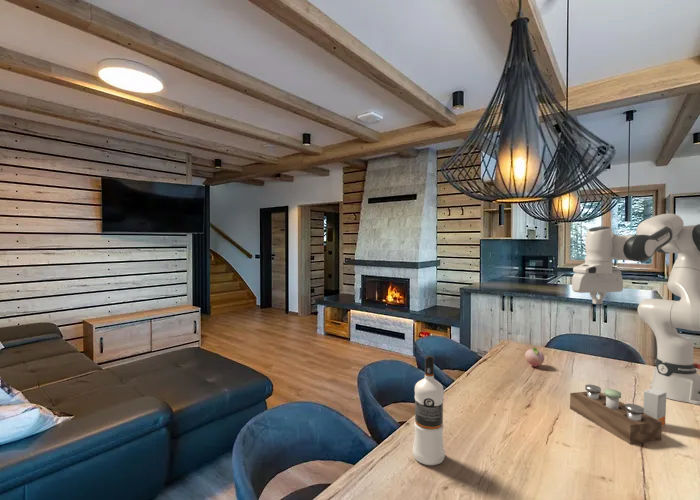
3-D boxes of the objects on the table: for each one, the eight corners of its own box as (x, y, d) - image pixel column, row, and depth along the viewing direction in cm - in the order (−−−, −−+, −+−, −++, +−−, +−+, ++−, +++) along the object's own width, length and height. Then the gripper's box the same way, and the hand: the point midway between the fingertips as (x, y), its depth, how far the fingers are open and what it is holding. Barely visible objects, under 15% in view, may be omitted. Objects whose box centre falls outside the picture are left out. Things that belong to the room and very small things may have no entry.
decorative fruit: (522, 363, 186) (522, 344, 186) (539, 364, 185) (539, 344, 185) (528, 369, 177) (528, 349, 177) (546, 370, 176) (546, 350, 176)
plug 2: (632, 430, 121) (633, 403, 121) (647, 437, 116) (647, 409, 116) (620, 431, 120) (621, 404, 120) (634, 439, 115) (635, 411, 115)
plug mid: (611, 413, 129) (612, 388, 129) (624, 420, 124) (624, 394, 124) (600, 415, 128) (600, 389, 128) (612, 421, 123) (612, 395, 123)
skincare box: (657, 430, 121) (658, 395, 121) (642, 424, 125) (643, 390, 125) (665, 426, 124) (667, 392, 124) (651, 420, 128) (652, 387, 127)
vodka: (446, 452, 109) (447, 353, 108) (442, 470, 100) (443, 363, 99) (415, 445, 112) (416, 349, 111) (409, 462, 104) (410, 359, 103)
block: (597, 405, 139) (597, 390, 139) (661, 440, 115) (661, 421, 115) (569, 408, 137) (570, 393, 137) (629, 444, 113) (630, 425, 113)
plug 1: (592, 408, 137) (593, 384, 136) (603, 414, 132) (604, 389, 132) (581, 409, 136) (582, 385, 136) (592, 415, 131) (592, 390, 131)
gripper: (613, 267, 146) (612, 301, 146) (569, 267, 142) (568, 302, 142) (628, 268, 139) (627, 304, 140) (582, 269, 136) (581, 305, 136)
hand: (597, 303), depth 141 cm, fingers closed
